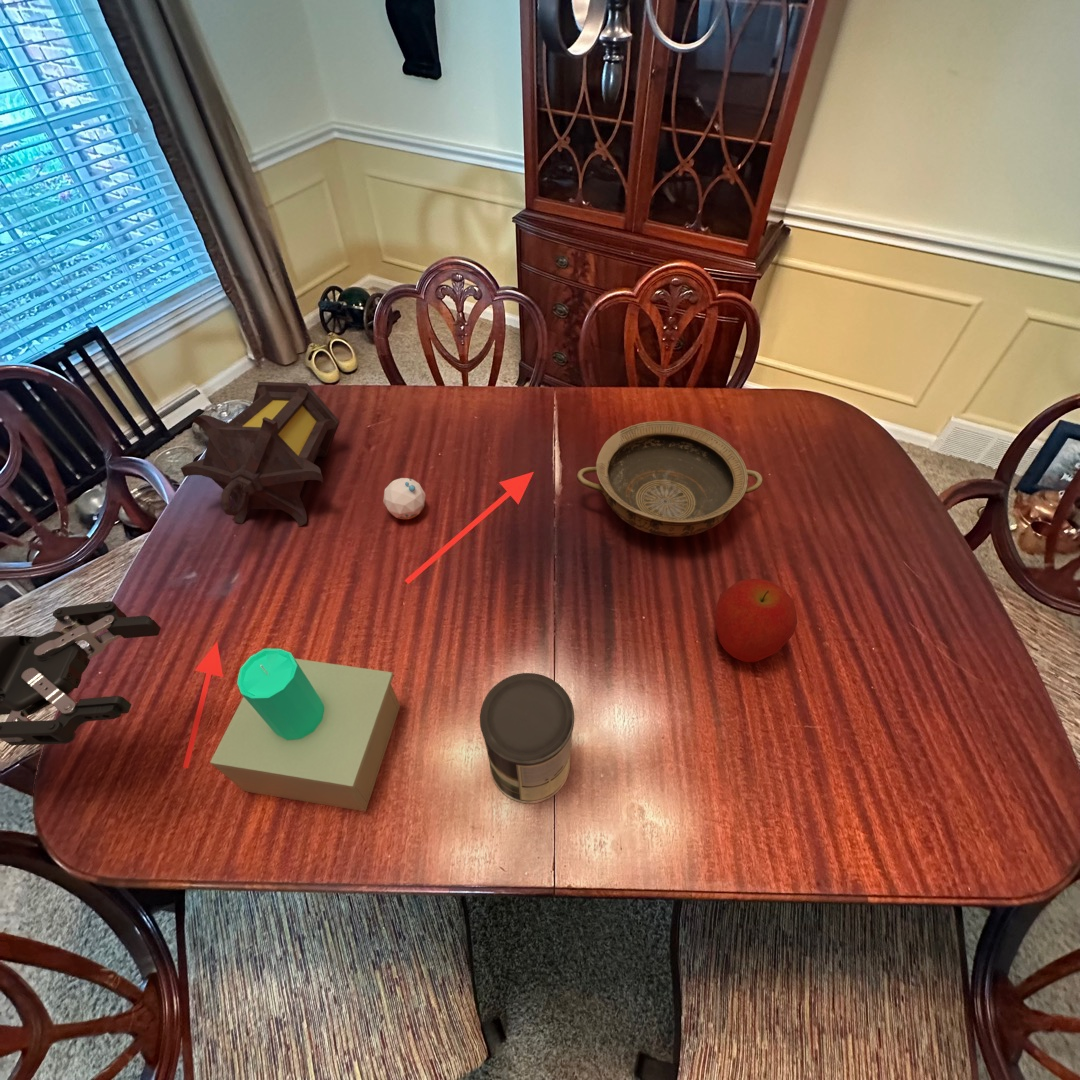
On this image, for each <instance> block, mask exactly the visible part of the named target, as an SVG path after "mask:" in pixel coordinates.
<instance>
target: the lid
mask: <svg viewBox="0 0 1080 1080" xmlns="http://www.w3.org/2000/svg"><path fill="white" fill-rule="evenodd" d="M295 660H296V661H297V663H298V665H299V666H300V668H301V669H302V671H303V672H304V674H305V675H306V677H307V678H308V680H309V682H310V683H311V685H312V686H313V688H314V689H315V691H316V692H317V694H318V695H319V697H320V699H321V701H322V703H323V705H324V713H323V719H322V721H321V722H320V724H319V725H318V726H317V728H316V729H315V730H314V731H313V732H312V733H310V734H308V735H307V736H305V737H303V738H301V739H293V740H286V739H284V738H282V737H280V736H278V735H276V734H275V732H274V731H273V730H272V729H271V728H270V727H269V725H268V724H267V723H266V722H265V721H264V720H263V718H262V717H261V716H260V715H259V714H258V713H257V711H256V710H255V709H254V708H253V707H252V706H251V705H250V703H249V702H248V701H247V700H246V699H245V698H244V696H242V699H241V701H240V702H239V705H238V706H237V708H236V710H235V713H234V715H233V716H232V718H231V720H230V722H229V724H228V725H227V728H226V729H225V732H224V734H223V736H222V737H221V740H220V742H219V744H218V745H217V748H216V750H215V752H214V754H213V755H212V758H211V759H210V761H209V763H210V764H211V765H212V766H213V765H215V766H221V767H227V768H233V769H239V770H245V771H251V772H257V773H263V774H269V775H275V776H281V777H287V778H293V779H299V780H305V781H311V782H317V783H323V784H329V785H336V786H342V787H348V788H355V785H356V782H357V780H358V777H359V774H360V771H361V768H362V765H363V762H364V759H365V757H366V754H367V751H368V748H369V745H370V742H371V739H372V736H373V733H374V731H375V728H376V725H377V722H378V719H379V716H380V713H381V710H382V707H383V705H384V702H385V699H386V696H387V693H388V690H389V687H390V684H391V685H392V682H393V678H394V673H393V671H386V670H379V669H371V668H365V667H357V666H351V665H344V664H337V663H329V662H323V661H315V660H310V659H301V658H295Z"/></svg>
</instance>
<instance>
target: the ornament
mask: <svg viewBox="0 0 1080 1080" xmlns="http://www.w3.org/2000/svg"><path fill="white" fill-rule="evenodd" d="M426 495H427V494H426V492H425V491H424V489H423V487H422V486H421V484H420V482H418V481H416V480H415V479H413V478H409V477H399V478H396V479H394V480H392V481H391V482H390V483H389V484H387V486H386V487H385V488H384V491H383V499H382V500H383V501H382V502H383V504H384V506H385V508H386V509H387V511H388V512H389V514H391V516H392V517H394V518H397V519H399V520H411V519H414V518H416V517H417V516H418V515H420V514H421V512H423V510H424V508H425V505H426Z"/></svg>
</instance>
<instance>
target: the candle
mask: <svg viewBox="0 0 1080 1080" xmlns="http://www.w3.org/2000/svg"><path fill="white" fill-rule="evenodd" d="M295 659H296V658H295V657H294V655H293V654H292V652H291V651H287V650H284V649H282V648H262V649H261V650H259V651H258V652H256V653H254V654H252V655H251V656H249V657H248V659H246V661H245V662H244V663H243V665H242V666H241V667H240V668H239V672H238V676H237V682H236V684H237V687H238V689H239V692H240V694H241V695H242V697H244V698H245V699H246V700H247V701H248V702H249V703H250V705H251V706H252V707H253V708H254V709H255V710H256V711H257V713H258V714H259V715H260V716H261V717H262V718H263V720H264V721H265V722H266V723H267V724H268V725H269V727H270V728H271V729H272V730H273V731H274V732H275V734H276V735H278V736H280V737H282V738H284V739H286V740H293V739H301V738H303V737H305V736H307V735H308V734H310V733H312V732H313V731H314V730H315V729H316V728H317V726H318V725H319V724H320V722H321V721H322V719H323V713H324V705H323V703H322V701H321V699H320V697H319V695H318V694H317V692H316V691H315V689H314V688H313V686H312V685H311V683H310V682H309V680H308V678H307V677H306V675H305V674H304V672H303V671H302V669H301V668H300V666H299V665H298V663H297V661H296V660H295Z"/></svg>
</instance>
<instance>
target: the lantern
mask: <svg viewBox="0 0 1080 1080" xmlns="http://www.w3.org/2000/svg"><path fill="white" fill-rule="evenodd" d="M190 422H191V423H192V424H193V423H194V424H196V425H197V426H198V427H200V428H201V429H202V430H203V431H204V432H205V434H206V435H207V437H208V441H207V444H206V448H205V453H204V458H201V459H198V460H194V461H191V462H189V463H186V464H184V465H183V466H182V467H180V471H181V473H182V475H183V477H184V478H186V477H189V476H202V477H205V478H208V479H211V480H212V481H213V482H214V483H215V484H216V485H218V486H219V487H220V488H221V489H222V492H221V496H220V497H221V498H220V505H221V509H222V510H223V512H224V513H225V515H227V516H233V517H232V521H234V522H236V523H237V524H241V525H243V524H244V522H245V520H246V519H247V517H248V515H249V513H250V511H251V509H257V510H258V509H259V510H278V511H283V512H285V513H287V514H288V515H290V516H291V517H292V518H293V519H294V520H295V521H296V523H297V525H298V528H300V527H302V526H304V525H306V524H307V521H308V516H307V511H306V508H305V506H304V503H303V501H302V498H301V492H302V490H303V487H304V484H305V482H306V481H309V480H310V481H319V482H321V483H324V477H323V474H322V471H321V468H320V467H319V466H318V465H316V464H315V461H316V459H317V457H321V458H324V457H327V455H328V453H329V450H330V447H331V445H332V443H333V440H334V437H335V435H336V432H337V430H338V427H339V424H340V420H339V418H338V417H337V416H336V415H335V414H334V413H333V412H332V410H331V409H330V408H329V406H328V405H327V404H326V403H325V402H324V401H323V400H322V399H321V397H319V395H318V394H317V393H316V392H315V390H313V388H312V387H311V386H310V384H308V382H282V381H281V382H280V381H279V382H277V381H258V382H257V385H256V389H255V392H254V395H253V399H252V403H250V405H248V406H247V407H246V408H245V409H243V410H242V411H240V412H239V413H238V414H237V415H236V416H234V417H233V418H232V419H231V420H229V421H228V422H227V421H224V420H221V419H219V418H217V417H214V416H211V415H208V414H200V415H197V416H195V417H194V418H192V419H191V420H190ZM231 498H232V499H233V500H234V501H235V502H236V503H235V504H234V506H233V507H232V506H231Z"/></svg>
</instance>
